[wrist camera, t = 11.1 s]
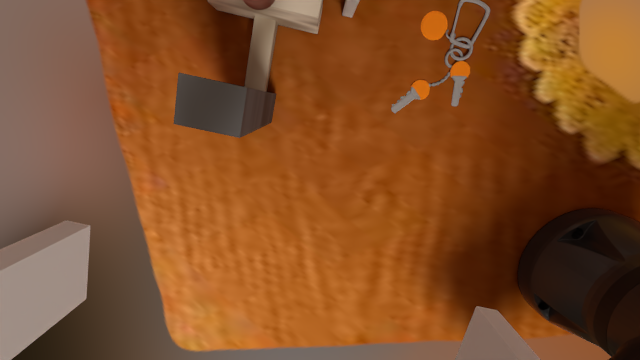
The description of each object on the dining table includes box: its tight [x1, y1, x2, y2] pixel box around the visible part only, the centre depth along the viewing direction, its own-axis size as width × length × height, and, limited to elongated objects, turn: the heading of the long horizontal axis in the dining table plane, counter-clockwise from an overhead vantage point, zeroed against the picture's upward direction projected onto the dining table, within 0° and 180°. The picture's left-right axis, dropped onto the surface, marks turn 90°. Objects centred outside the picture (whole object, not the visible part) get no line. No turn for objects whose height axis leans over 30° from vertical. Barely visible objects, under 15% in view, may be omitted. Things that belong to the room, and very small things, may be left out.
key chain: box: [391, 0, 490, 113], centre depth 31 cm, size 13×7×1 cm, turn 162°
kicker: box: [174, 0, 323, 138], centre depth 24 cm, size 10×12×14 cm
